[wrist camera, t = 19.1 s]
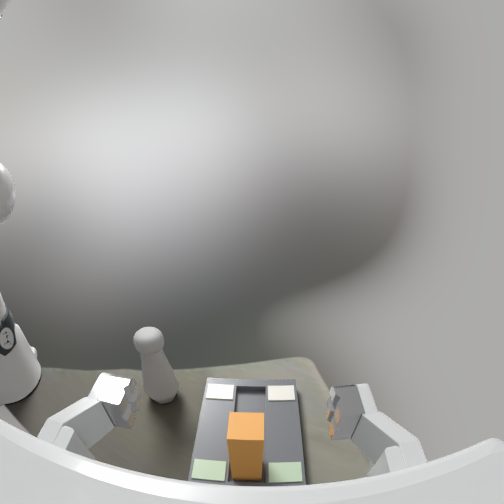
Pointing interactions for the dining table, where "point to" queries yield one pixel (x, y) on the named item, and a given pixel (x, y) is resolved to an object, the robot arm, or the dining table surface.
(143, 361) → the salt shaker
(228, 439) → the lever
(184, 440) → the dining table surface
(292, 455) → the panel
